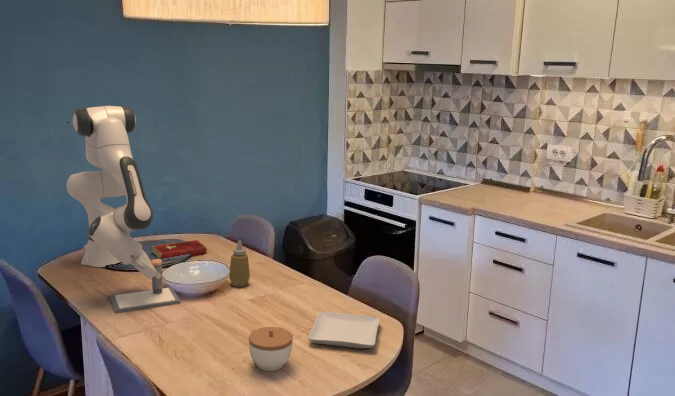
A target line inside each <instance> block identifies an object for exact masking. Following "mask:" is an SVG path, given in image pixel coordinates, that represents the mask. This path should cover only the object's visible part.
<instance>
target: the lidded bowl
mask: <svg viewBox="0 0 675 396" xmlns="http://www.w3.org/2000/svg"><path fill="white" fill-rule="evenodd" d="M293 338H294V337H293V334H292V332H291V331H290V330H288V329H286V328H283V327H279V326H265V327H260V328H257V329H255V330H253V331H252V332H250V334H249V335H248V341H249V342H248V343H249V354H250V356H251V359H252V361H253V362H254V364H255V365H256V366H258V368H259V369H260V370H261V371H262V370H263V371H265V372H274V371H279V370H280V369H282V368H283V366H284V365H285V364H286V363H287V362H288V361H289V359H290V356H291V353H292V350H293V340H294V339H293Z"/></svg>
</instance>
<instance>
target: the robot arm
mask: <svg viewBox="0 0 675 396" xmlns="http://www.w3.org/2000/svg"><path fill="white" fill-rule="evenodd" d="M136 124H137V118H136V115H135V112H134V110H133V109H132V108H131V107H129V106H125V105H121V106H119V105H118V106H117V105H115V106H114V105H103V106H93V107H87V108H86V107H81V108H76V110H75V111H74V113H73V116H72V125H73V128H74V130H75V132H76V133H77V134H78V135H79V136H82V137H85V158H86V160H87V163H89V164H90V165H91V166H94V167H96V168H98V169H100V170H96V171H95V170H94V171H92V170H91V171H81V172H77V173H73V174H70V176H69V177H68V179H67V181H66V190H67V193H68V194H69V196H71V197H72V198H73V199H74V200H77V201H78V202H79V203H80V204H82V206H83V207H84V209H85V210H86V211H85V212H86V213H87V214H86V215H87V218H88V233H87V234H88V241H87V242H86V244H84V245H83V251H85V252H84V255H83V256H82V258H81V259H82V260H81V262H80V263H81V264H80V265H82V266H90V267H95V268H106V267H105V266H106V265H110V264H116V263H119V262H122V263H121V264H123V265H125V266H127V265H132V266H134V268H135V269H136V270H137V271H138V272H139V273H141V274H142V275H143V276H145V277H146V278H147V279H149V280H152V278H153V276H155V277H156V278H158V279H160V277H161V276H162V277H163V274H162V275H161V274H160V273H159V272H157V271H156V269H155V267H154V266H153V264H152V263H151V259H150V257H149V256H148V254H147V253H146V252H145V251H144V249H143V246H142V244H141V243H140V242H138V241H137V240H135V239H134V238H133V237H132V236H131V233H132V232H134V231H138V230H144V229H147V228H148V227H149V226H150V225H151V223H152V222H153V219H154V212H153V208H152V206H151V204H150V202H149V200H148V199H147V195H146V193H145V189H144V186H143V181H142V177H141V174H140V171H139V168H138V165H137V162H136V161H135V160H134V157H133V154H132V150H131V145H130V139H129V136H128V134H130V133H132V132H133V131H134V130H135V128H136ZM122 196H125V197H126V202H125V204H124V205H120V206H118V207H116V208H114V207H113V206H111V205H108V204H105V203H103V202H102V201H101V199H103V198H115V197H122Z"/></svg>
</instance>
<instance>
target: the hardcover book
mask: <svg viewBox="0 0 675 396" xmlns="http://www.w3.org/2000/svg"><path fill="white" fill-rule="evenodd" d="M151 248H152V253H153V252H154V253H155V254H156V255H157V256H158V257H159V258H160V259H163V258H169V257H174V256H180V255H186V254H191V255H192V256H194V257H199V255H201V256H205V255H204V254H207V255H208V248H207V246H206V245H205V244H204V243H203V242H201V241H200V240H199V239H194V240H188V241H187V240H186V241H179V242H172V243H165V244H158V245H152V246H151Z"/></svg>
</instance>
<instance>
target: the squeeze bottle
mask: <svg viewBox="0 0 675 396" xmlns="http://www.w3.org/2000/svg"><path fill="white" fill-rule="evenodd" d="M228 275H229V277H228V278H229V280H230V282H231V285H232V286H233V287H234V288H235V287H237V288H243V287H247V285H248V283H249V280H250V277H251V274H250V264H249V255H248V254H247V253H246V249H245V247H243V242H242V240H237V244H236V247H235V248H234V249H233V254H232V255H231V256H230V265H229V274H228Z"/></svg>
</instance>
